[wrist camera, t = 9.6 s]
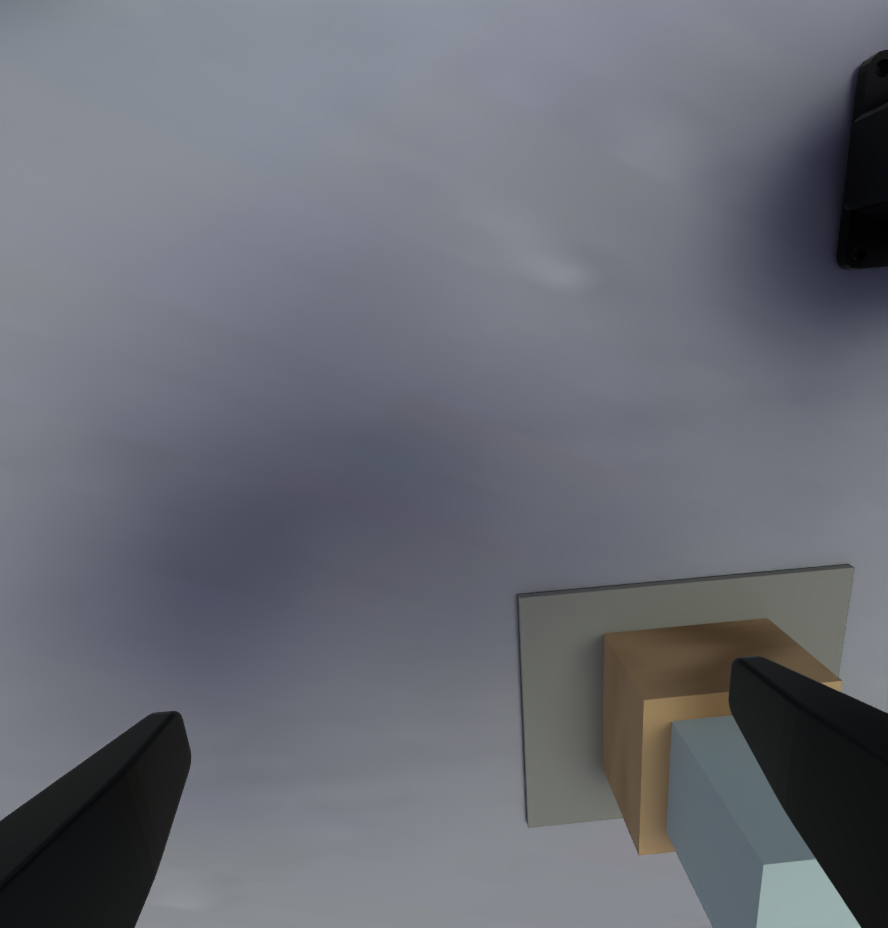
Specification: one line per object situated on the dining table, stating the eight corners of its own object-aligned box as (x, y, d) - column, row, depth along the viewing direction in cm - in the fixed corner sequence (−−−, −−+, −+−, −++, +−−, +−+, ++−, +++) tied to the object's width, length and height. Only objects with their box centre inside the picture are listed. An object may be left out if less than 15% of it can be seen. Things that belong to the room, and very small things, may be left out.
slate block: (811, 707, 18) (952, 844, 13) (796, 818, 20) (920, 979, 15) (671, 721, 18) (763, 864, 13) (666, 832, 19) (747, 998, 15)
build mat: (848, 564, 22) (854, 567, 21) (816, 792, 25) (820, 797, 25) (517, 594, 21) (519, 598, 21) (527, 821, 25) (528, 827, 24)
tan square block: (767, 617, 22) (841, 680, 18) (753, 753, 24) (818, 836, 20) (603, 633, 22) (643, 700, 18) (602, 768, 24) (638, 855, 20)
